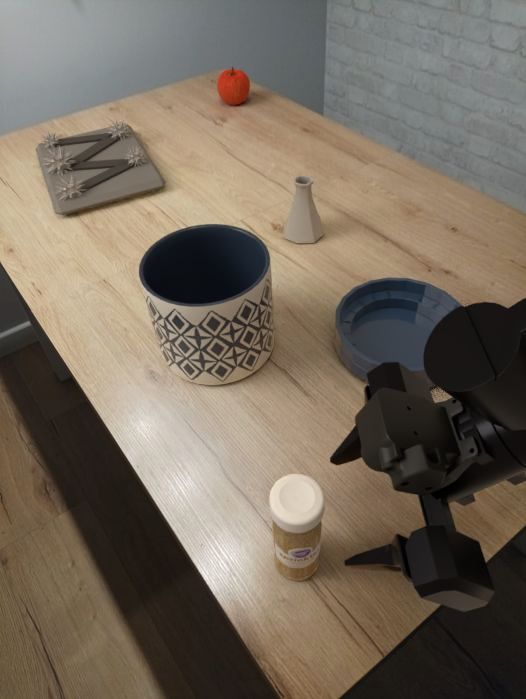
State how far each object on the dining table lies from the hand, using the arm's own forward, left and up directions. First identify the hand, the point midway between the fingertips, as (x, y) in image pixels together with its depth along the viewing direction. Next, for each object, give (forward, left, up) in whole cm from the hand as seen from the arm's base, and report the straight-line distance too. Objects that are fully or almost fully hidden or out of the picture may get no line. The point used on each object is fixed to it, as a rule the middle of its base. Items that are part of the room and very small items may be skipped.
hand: (339, 509), depth 44 cm
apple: (+105, -42, -11) cm, 113 cm away
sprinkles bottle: (+2, +3, -11) cm, 11 cm away
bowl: (+20, -24, -10) cm, 32 cm away
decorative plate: (+90, -3, -11) cm, 91 cm away
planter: (+33, -3, -11) cm, 34 cm away
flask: (+49, -27, -11) cm, 56 cm away
